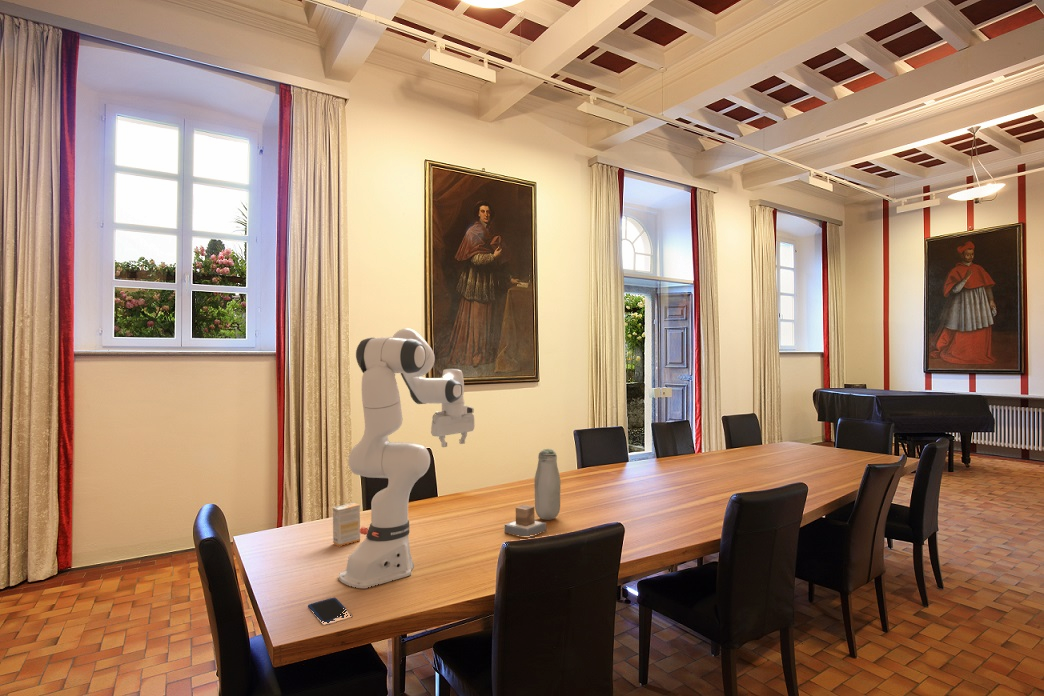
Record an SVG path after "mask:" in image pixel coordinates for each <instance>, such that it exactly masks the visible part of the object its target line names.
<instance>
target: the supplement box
mask: <svg viewBox="0 0 1044 696" xmlns="http://www.w3.org/2000/svg"><path fill="white" fill-rule="evenodd" d="M360 506H361V505H360V504H358V503H356V502H352V503H346V504H343V505H337V506H332V537H333V538H332V540H333V541H332V544H333V543H334V544H333V545H335V544H336V545H335V546H337V545H338V546H337V547H339V546H340V547H342V546H341V545H344V546H346V545H345V544H347V545H350V544H349V543H351V544H354V543H357V541H358V542H360V541H361V533H360V528H361V517H360V515H361V512H360V511H361V510H360V509H361V508H360ZM353 542H354V543H353Z"/></svg>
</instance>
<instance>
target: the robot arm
mask: <svg viewBox="0 0 1044 696" xmlns="http://www.w3.org/2000/svg"><path fill="white" fill-rule="evenodd" d="M433 350H434V349H432V347H431V346H430V345H429V343H428V342H427V341H426V339H425V338H424V337H423V336H422V335H420V333H418V332H417V331H416V330H414V329H413V328H412V329H411V328H410V327H409V328H408V327H407V328H406V327H405V328H401V329H399V330H397V331H396V332H395V333H394V334H393V335H392V336H385V337H383V336H382V337H367V338H365V339H362V340H361V341H360V342H359V343H358V345H357V346H356V350H355V359H356V362H357V364H358V367H359V368H360V372H362V376H361V402H362V408H363V417H364V418H363V419H364V431H363V435H362V438H361V439H360V441H359V442H358V443H357V444H356V445H354V446H353V447H352V449H351V450H350V452H349V455H348V466H349V469H350V471H351V472H352V473H353V474H354V475H357V476H361V477H364V478H365V477H366V478H371V479H372V478H373V479H375V478H377V479H378V478H379V479H388V484H387V487H385V488H383V489H381V490H380V491H378V492H376V493H375V495H374V496H373V497H372V499H371V502H370V504H371V506H370V507H371V508H370V509H371V511H370V512H371V514H370V515H371V518H370V520H371V522H370V524H369V527H365V526H360V535H361V534H362V535H366V536H365V538H364V540H363V541H362V542H361V543H360V544H358V546H357V547H356V548H355V549H354V550H353V552H351V553H350V554H349V557H348V559H347V563H346V570H344V571H341V572H340V573H339V574H338V580H339V581H340V582H341V583H342V584H344V585H346V586H348V585H349V586H348V587H351V586H352V587H351V588H355V587H356V589H368V587H369V588H372V587H375V585H376V586H378V584H379V585H382V584H385V583H389V582H391V581H392V580H393V581H395V580H399V579H402V578H406V577H409V576H411V575H412V570H413V569H414V562H413V559H412V554H411V548H410V541H409V535H410V520H409V499H410V493H411V492H412V489H413V487H414V485H415V483H416V482H418V480H419V479H421V478H422V477H424V475H425V474H426V473H427V472H428V470H429V468H430V466H431V465H430V464H431V455H430V452H429V450H428V449H427V448H426V446H425V445H422V444H418V443H414V442H399V441H398V442H396V441H395V442H391V441H389V436H390V435H392V434H395V432H397V431H398V430H399V429H400V427H401V426H402V424H403V415H402V414H403V413H402V404H401V396H400V391H399V386H398V383H397V380H396V379H397V378H396V374H400V376H401V378H402V380H403V382H404V384H405V385H406V387H407V388H408V390H409V395H410V397H411V399H412V400H413V402H414V403H415V404H416V405H426V404H438V405H439V404H441V411H435V413H434V414H433V415H432V421H431V428H430V433H431V435H432V437H437V438H438V439H439V441H440V443H441V448H447V447H448V442H446V436H451V435H457V434H460V435H461V437H460V439H459V440H458V441H459V445H464V444H465V443H466V439H467V436H468V433H469V432H474V429H475V416H474V412H475V409H474V407H472V406H469V405H466V404H465V400H464V393H465V383H464V379H465V378H464V374H463V371H462V370H461V369H458V368H446V369H445V368H444V369H443V370H442V376H441V377H423V376H425V375H427V374H428V373H429V372H430V371H431V370H432V369H433V367H434V364H435V360H436V358H435V357H436V356H435V353H434V351H433ZM393 581H392V582H393ZM371 586H372V587H371Z"/></svg>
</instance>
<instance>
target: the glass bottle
mask: <svg viewBox="0 0 1044 696" xmlns="http://www.w3.org/2000/svg"><path fill="white" fill-rule="evenodd" d="M537 459H538V460H537V466H536V467H537V468H536V470H535V475H534V511H535V513H536V516H537V517H538V518H540V519H541V520H545V521H551V520H554V519H555V518H556V517H558V515H559V514H560V510H561V477H560V471H559V469H558V462H557V461H558V460H557V459H558V457H557V453H556V451H555V450H554V449H551V448H546V449H545V448H544V449H542V450H541V451H539V453H538V458H537Z"/></svg>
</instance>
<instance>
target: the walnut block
mask: <svg viewBox="0 0 1044 696" xmlns="http://www.w3.org/2000/svg"><path fill="white" fill-rule="evenodd" d="M535 519H536V517H535V506H531V505H527V504H523V505H520V506H515V521H516V524H519V525H523V526H528V525H531V524H533V523H535V521H536V520H535Z"/></svg>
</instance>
